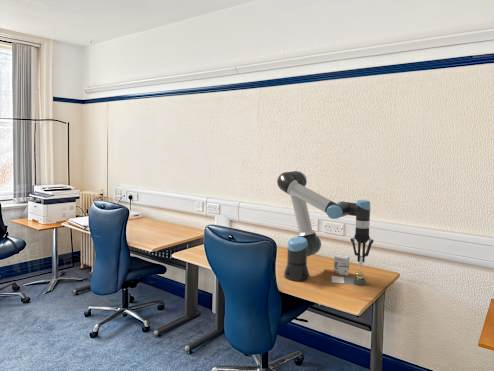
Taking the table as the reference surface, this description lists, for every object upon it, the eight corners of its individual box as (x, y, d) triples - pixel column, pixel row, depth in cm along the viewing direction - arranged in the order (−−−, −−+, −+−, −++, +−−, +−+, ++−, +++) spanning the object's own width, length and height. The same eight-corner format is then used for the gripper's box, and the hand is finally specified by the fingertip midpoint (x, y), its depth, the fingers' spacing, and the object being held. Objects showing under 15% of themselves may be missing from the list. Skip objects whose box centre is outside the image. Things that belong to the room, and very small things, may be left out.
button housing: (354, 284, 217) (354, 279, 217) (353, 280, 223) (353, 275, 223) (365, 285, 216) (365, 280, 216) (364, 281, 222) (364, 276, 221)
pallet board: (331, 284, 220) (331, 282, 220) (330, 277, 230) (330, 275, 230) (365, 287, 216) (365, 285, 216) (363, 280, 227) (363, 278, 227)
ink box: (333, 274, 235) (334, 256, 234) (335, 272, 240) (336, 254, 238) (347, 277, 231) (348, 258, 230) (349, 274, 236) (350, 256, 234)
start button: (355, 283, 218) (356, 273, 217) (355, 280, 222) (355, 271, 221) (363, 284, 217) (364, 274, 216) (362, 281, 221) (363, 272, 220)
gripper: (351, 228, 213) (349, 268, 216) (375, 229, 211) (373, 270, 213) (350, 225, 220) (348, 264, 223) (373, 226, 218) (371, 266, 221)
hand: (360, 267), depth 218 cm, fingers closed
